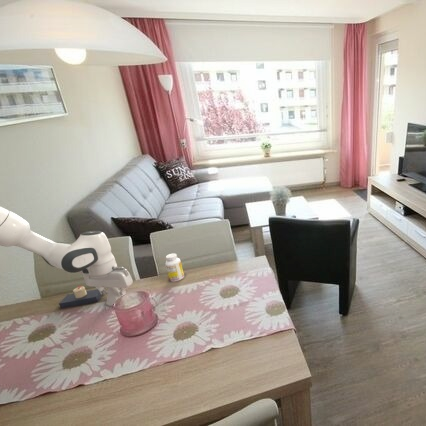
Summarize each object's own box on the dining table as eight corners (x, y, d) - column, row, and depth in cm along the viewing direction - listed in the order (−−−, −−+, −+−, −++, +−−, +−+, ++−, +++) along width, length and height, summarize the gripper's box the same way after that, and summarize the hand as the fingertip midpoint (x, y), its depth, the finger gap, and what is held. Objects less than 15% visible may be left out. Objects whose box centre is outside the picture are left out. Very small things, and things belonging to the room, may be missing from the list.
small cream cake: (84, 296, 128) (81, 289, 127) (74, 299, 127) (70, 291, 126) (88, 292, 132) (85, 284, 131) (78, 294, 131) (75, 286, 130)
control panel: (61, 309, 126) (58, 303, 125) (69, 299, 132) (67, 294, 131) (97, 302, 129) (95, 296, 128) (104, 293, 135) (102, 288, 134)
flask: (119, 306, 125) (112, 286, 122) (102, 307, 126) (95, 287, 122) (129, 296, 132) (123, 277, 129) (114, 296, 132) (107, 277, 129)
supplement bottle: (180, 273, 148) (174, 251, 144) (187, 277, 145) (181, 254, 140) (167, 279, 143) (160, 256, 139) (174, 283, 140) (167, 260, 135)
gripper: (131, 263, 124) (140, 290, 129) (89, 262, 128) (99, 289, 132) (119, 271, 118) (129, 299, 123) (76, 270, 122) (87, 297, 126)
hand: (113, 294), depth 128 cm, fingers open, 8 cm apart
